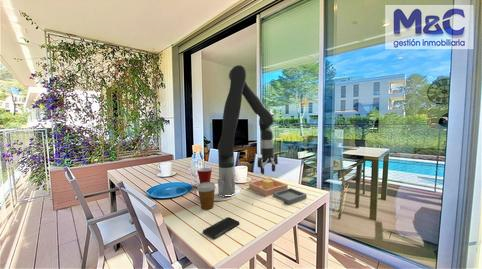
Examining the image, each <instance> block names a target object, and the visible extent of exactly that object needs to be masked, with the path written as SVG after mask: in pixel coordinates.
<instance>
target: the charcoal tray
mask: <svg viewBox="0 0 482 269" xmlns="http://www.w3.org/2000/svg"><path fill="white" fill-rule="evenodd" d="M272 196H273V197H275V198H277V199H279V200H282V201H284V202H283V203H285V204H287V205H292V204H294V203H296V202H299V201H300V202H301V201H302V200H306V199H307V197H308V196H307V193H305V192H302V191H301V190H297V189H294V188H291V187H289V188H288V189H285V190H282V191H279V192H276V193H273V194H272Z"/></svg>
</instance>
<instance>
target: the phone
mask: <svg viewBox="0 0 482 269" xmlns="http://www.w3.org/2000/svg"><path fill="white" fill-rule="evenodd" d="M239 225H240V221H238V220H236V219H234V218H232V217H230V216H229V217H226V218H223V219H222V220H219V221H217V222H215V223H214V224H212V225H210V226H209V227H206V228H205V229H203V230H202V234H203V235H204V236H207V237H208V238H210V239H211V240H217V239H218V238H220V237H221V236H224V235H225V234H226V233H229V232H230V231H231V230H233V229H235V228H237V227H238V226H239Z"/></svg>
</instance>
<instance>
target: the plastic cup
mask: <svg viewBox="0 0 482 269" xmlns="http://www.w3.org/2000/svg"><path fill="white" fill-rule="evenodd" d="M196 172H197V176H198V180H199V181H198V182H199V184H200V183H204V182H211V177H212V172H213V167H201V168H197V169H196Z"/></svg>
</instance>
